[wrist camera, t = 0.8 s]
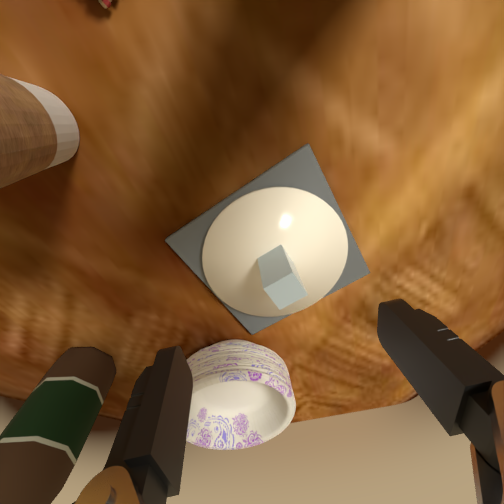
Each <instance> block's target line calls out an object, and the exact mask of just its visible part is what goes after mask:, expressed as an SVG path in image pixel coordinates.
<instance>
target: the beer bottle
mask: <svg viewBox="0 0 504 504" xmlns="http://www.w3.org/2000/svg"><path fill="white" fill-rule="evenodd" d="M115 374H116V368H115V365H114V362H113V359H112V356H110V355H108V354H106V353H104V352H102V351H100V350H98V349H96V348H94V347H74V348H70V349H68V350H67V351H66V352H65V353H64V354H63V355H62V356H61V357H60V358H59V359H58V360H57V361H56V362H55V363H54V364H53V365H52V367H51V368H50V369H49V370H48V372H47V373H46V374H45V376H44V377H43V378H42V380H41V381H40V382H39V384H38V385H37V386H36V388H35V389H34V390H33V392H32V393H31V394H30V396H29V397H28V398H27V400H26V401H25V403H24V404H23V405H22V407H21V408H20V409H19V411H18V412H17V413H16V415H15V416H14V417H13V419H12V420H11V421H10V423H9V424H8V426H7V427H6V428H5V430H4V431H3V432H2V434H1V435H0V504H51V503H52V501H53V500H54V499H55V497H56V496H57V495H58V493H59V492H60V491H61V490H62V488H63V486H64V484H65V483H66V481H67V478H68V477H69V475H70V473H71V471H72V469H73V467H74V465H75V463H76V461H77V458H78V457H79V454H80V452H81V450H82V448H83V446H84V444H85V441H86V439H87V437H88V435H89V433H90V431H91V428H92V426H93V424H94V422H95V420H96V417H97V415H98V413H99V411H100V409H101V407H102V404H103V402H104V400H105V398H106V396H107V393H108V391H109V389H110V387H111V385H112V382H113V380H114V377H115Z"/></svg>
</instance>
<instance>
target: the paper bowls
mask: <svg viewBox="0 0 504 504" xmlns="http://www.w3.org/2000/svg"><path fill="white" fill-rule="evenodd" d="M187 363H188V365H189V367H190V370H191V372H192V377H193V391H192V398H191V406H190V414H189V421H188V429H187V437H186V441H187V442H189V443H192V444H194V445H196V446H200V447H204V448H209V449H216V450H235V449H242V448H247V447H252V446H255V445H259V444H261V443H264V442H266V441H268V440H270V439H272V438H273V437H275V436H277V435H278V434H279V433H281V432H282V431H283V430H284V429H285V428H286V427H287V426H288V425H289V423H290V422H291V420H292V419H293V416H294V413H295V408H296V402H295V398H294V393H293V390H292V386H291V382H290V377H289V373H288V369H287V366H286V365H285V363H284V361H283V360H282V358H280V356H278V355H277V354H276V353H275V352H273V351H271V350H270V349H268V348H266V347H263V346H261V345H257V344H254V343H252V342H249V341H245V340H238V339H234V340H225V341H221V342H218V343H216V344H213V345H211V346H209V347H206V348H203V349H201V350H200V351H198V352H196V353H195V354H193V355H192V356H190V357H189V358H188V359H187Z"/></svg>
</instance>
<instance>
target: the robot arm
mask: <svg viewBox="0 0 504 504" xmlns="http://www.w3.org/2000/svg"><path fill="white" fill-rule="evenodd" d="M377 333H378V338H379V341H380V343H381V345H382V346H383V348H384V349H385V351H386V352H387V353H388V355H389V356H390V357H391V359H392V360H393V361H394V363H395V364H396V365H397V367H398V368H399V369H400V370H401V372H402V373H403V374H404V376H405V377H406V378H407V380H408V381H409V382H410V384H411V385H412V386H413V388H414V389H415V390H416V392H417V393H418V394H419V396H420V397H421V398H422V400H423V401H424V402H425V404H426V405H427V406H428V407H429V409H430V410H431V412H432V413H433V414H434V416H435V417H436V418H437V419H438V421H439V422H440V424H441V425H442V426H443V427H444V429H445V430H446V432H447V433H448V434H449V436H453V435H458V434H462V433H464V434H465V435H466V436H467V438H468V439H469V440H470V441H471V445H470V450H471V458H472V465H473V474H474V482H475V489H476V496H477V504H504V375H503V374H502V373H501V372H499V371H498V370H497V369H496V368H495V367H493V366H492V365H491V364H490V363H489V362H488V361H486V360H485V359H484V358H483V357H482V356H481V355H479V354H478V353H477V352H476V351H475V350H474V349H472V348H471V347H470V346H469V345H468V344H467V343H465V342H464V341H463V340H462V339H459V338H458V336H457V335H456V334H455V333H454V332H452V331H451V330H449V329H448V327H447V326H445V325H444V324H443V323H442V322H441V321H440V320H438V319H437V318H436V317H435V316H433V315H431V314H429V313H427V312H425V311H423V310H421V309H416V310H414V309H413V308H412V307H411V306H410V305H409V304H407V303H406V302H405V301H404V300H402V299H395V300H391V301H386V302H382V303H380V304H379V308H378V327H377ZM192 391H193V377H192V372H191V370H190V367H189V365H188V363H187V360H186V358H185V356H184V354H183V351H182V349H181V347H180V346H174V347H170V348H165V349H160V350H159V351H158V352H157V355H156V358H155V361H154V364H153V366H149V367H146V368H145V370H144V371H143V372H142V374H141V375H140V376H139V378H138V379H137V380H136V383H135V386H134V389H133V391H132V394H131V398H130V400H129V402H128V405H127V410H126V411H125V413H124V416H123V419H122V421H121V424H120V427H119V430H118V432H117V435H116V438H115V440H114V443H113V446H112V449H111V451H110V454H109V457H108V460H107V462H106V464H105V467H104V469H103V471H101V472H100V473H99V474H97V475H96V476H95V477H94V478H93V479H92V480H91V481H90V482H89V483H88V484H87V485H86V486H85V488H84V489H83V490H82V492H81V493H80V495H79V497H78V499H77V500H76V501H75V502H74V503H72V504H166V499H167V497H171V496H175V495H179V491H180V482H181V475H182V468H183V459H184V452H185V444H186V437H187V429H188V421H189V414H190V406H191V398H192Z"/></svg>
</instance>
